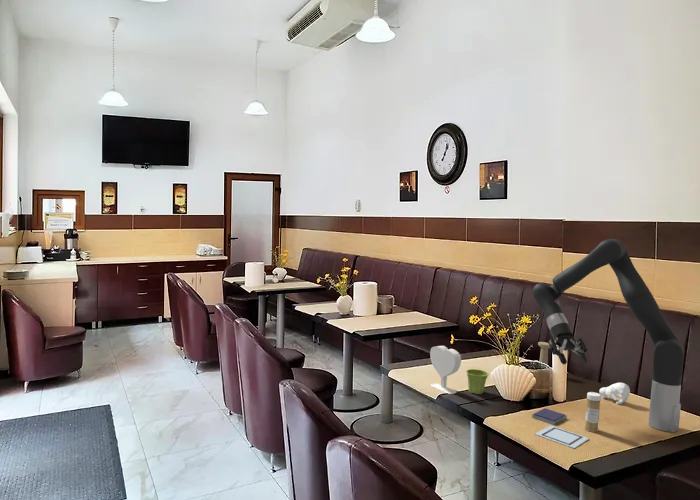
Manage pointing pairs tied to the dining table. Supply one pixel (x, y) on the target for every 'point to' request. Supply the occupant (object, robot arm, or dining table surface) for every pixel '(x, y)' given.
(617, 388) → the white bear figurine
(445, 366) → the heart sculpture
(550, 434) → the print card
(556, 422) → the ink pad
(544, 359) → the handle
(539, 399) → the dining table surface
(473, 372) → the plant pot
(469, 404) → the dining table surface
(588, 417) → the sprinkles bottle
